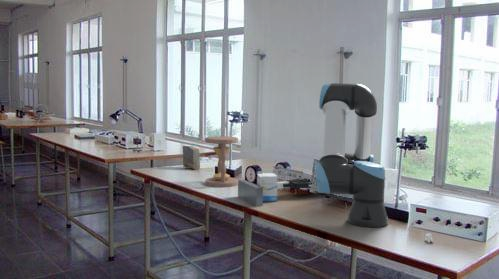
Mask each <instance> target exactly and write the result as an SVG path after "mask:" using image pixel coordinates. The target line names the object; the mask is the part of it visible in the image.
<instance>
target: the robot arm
mask: <svg viewBox="0 0 499 279" xmlns="http://www.w3.org/2000/svg"><path fill="white" fill-rule="evenodd" d="M318 102H319V103H318V104H319V105H318V106H319V109H320V110H321V111H322V113H323V114H324V115H325V117H324V118H325V120H324V134H323V136H324V137H323V153H322V154H323V155H322V157H320V159H319V160H318V162H316V163H315V164H314V169H315V170H314V171H315V172H314V173H315V174H316V185H317V190H316V191H317V192H318V193H321V194H322V193H323V194H328V195H330V194H333V195H351V196H352V204H351V206H350V209H349V212H348V214H347V221H348V223H350V224H352V225H355V226H360V227H365V228H380V227H386V226H387V225H389V217H388V213H387V210H386V206H385V188H386V187H385V184H386V183H385V182H386V169H385V167H384V166H383V165H382V164H378V163H375V156H374V154H371V153H372V152H371V151H372V140H373V132H374V131H373V129H374V119H375V118H374V117H375V116H376V115H377V112H378V103H377V100H376V97H375V95H374V93H373V92H372V91H371V90H370V89H369V88H368V87H367V86H366V85H363V84H361V83H338V82H337V83H334V82H331V83H325V84H323V85H322V86H321V90H320V94H319V101H318ZM350 111H354V113H355V115H356V121H355V122H356V123H355V137H354V138H355V139H354V153H346V152H345V151H346V121H347V120H346V119H347V118H346V116H348V114H349V113H350ZM347 159H348V160H354V161H355V162H354V165H348V160H347ZM311 187H312V183H311V181H310V179H308V177H307V178H306V177H305V178H301V177H297V178H294V179H292V178H291V179H289V180H288V179H286V180H285V181H277V190H281V189H289V188H290V189H310V188H311Z"/></svg>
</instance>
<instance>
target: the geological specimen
mask: <svg viewBox="0 0 499 279" xmlns="http://www.w3.org/2000/svg"><path fill="white" fill-rule="evenodd" d="M200 156H201V155H200V148H198V147H195V146H193V145H182V166H183V168H189V169H191V168H192V169H193V170H197V169H200V168H201V165H200V164H201V160H200Z"/></svg>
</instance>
